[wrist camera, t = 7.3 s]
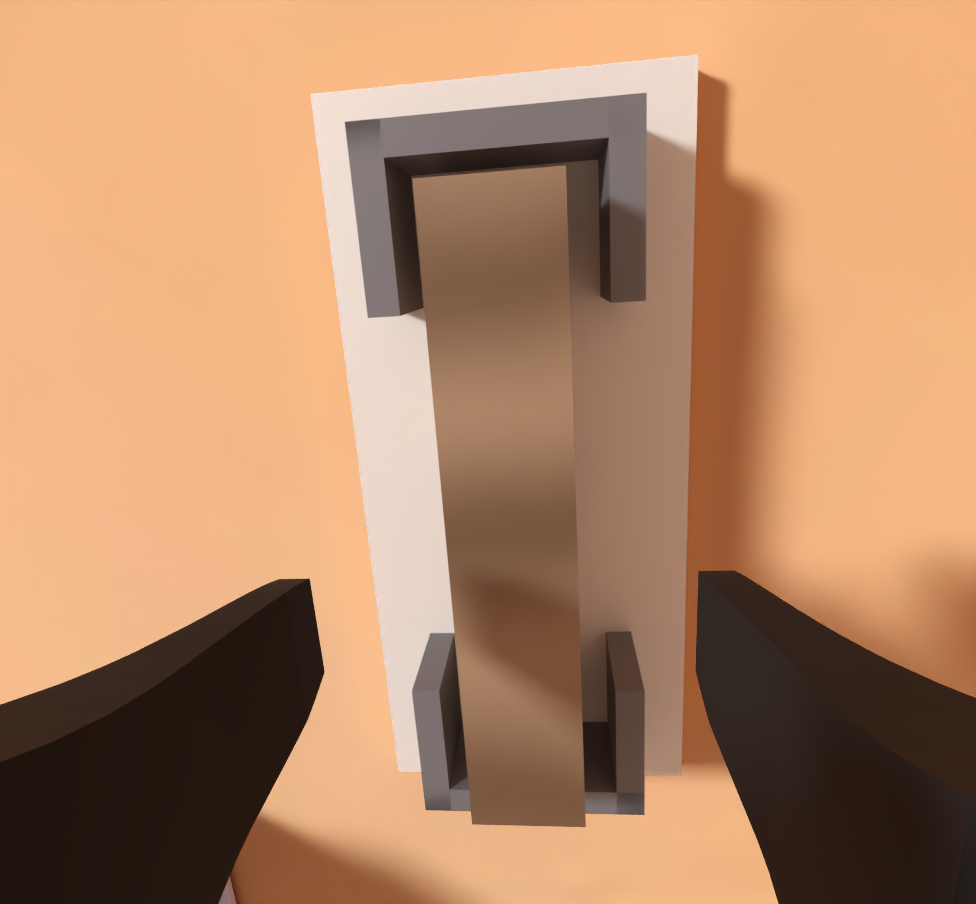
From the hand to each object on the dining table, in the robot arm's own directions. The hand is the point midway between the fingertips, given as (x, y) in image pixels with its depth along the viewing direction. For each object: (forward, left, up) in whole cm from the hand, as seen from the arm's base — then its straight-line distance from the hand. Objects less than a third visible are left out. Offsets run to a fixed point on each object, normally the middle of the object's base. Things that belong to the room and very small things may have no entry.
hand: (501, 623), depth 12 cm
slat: (0, 0, -8) cm, 8 cm away
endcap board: (0, 0, -9) cm, 9 cm away
